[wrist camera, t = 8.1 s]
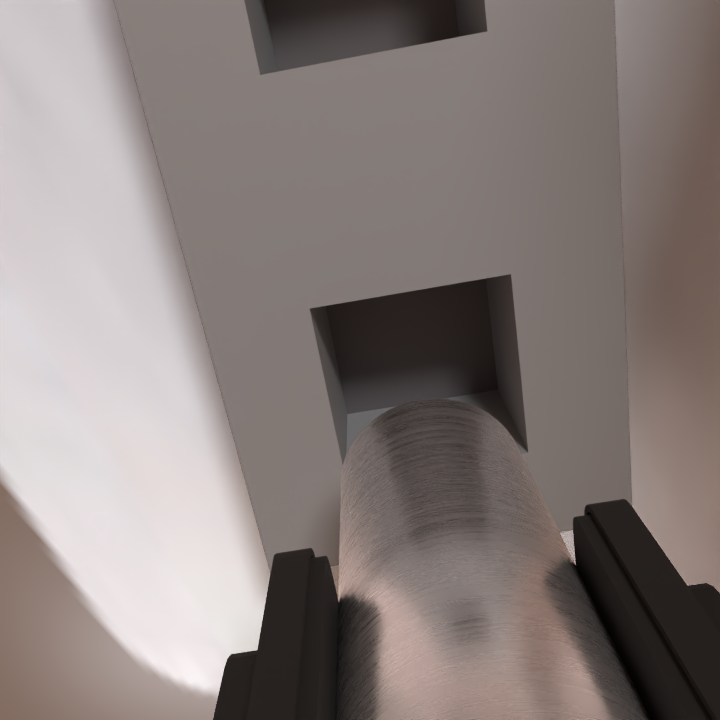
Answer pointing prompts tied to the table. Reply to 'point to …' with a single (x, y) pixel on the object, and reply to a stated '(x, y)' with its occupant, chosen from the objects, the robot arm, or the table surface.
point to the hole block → (396, 229)
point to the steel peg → (462, 583)
